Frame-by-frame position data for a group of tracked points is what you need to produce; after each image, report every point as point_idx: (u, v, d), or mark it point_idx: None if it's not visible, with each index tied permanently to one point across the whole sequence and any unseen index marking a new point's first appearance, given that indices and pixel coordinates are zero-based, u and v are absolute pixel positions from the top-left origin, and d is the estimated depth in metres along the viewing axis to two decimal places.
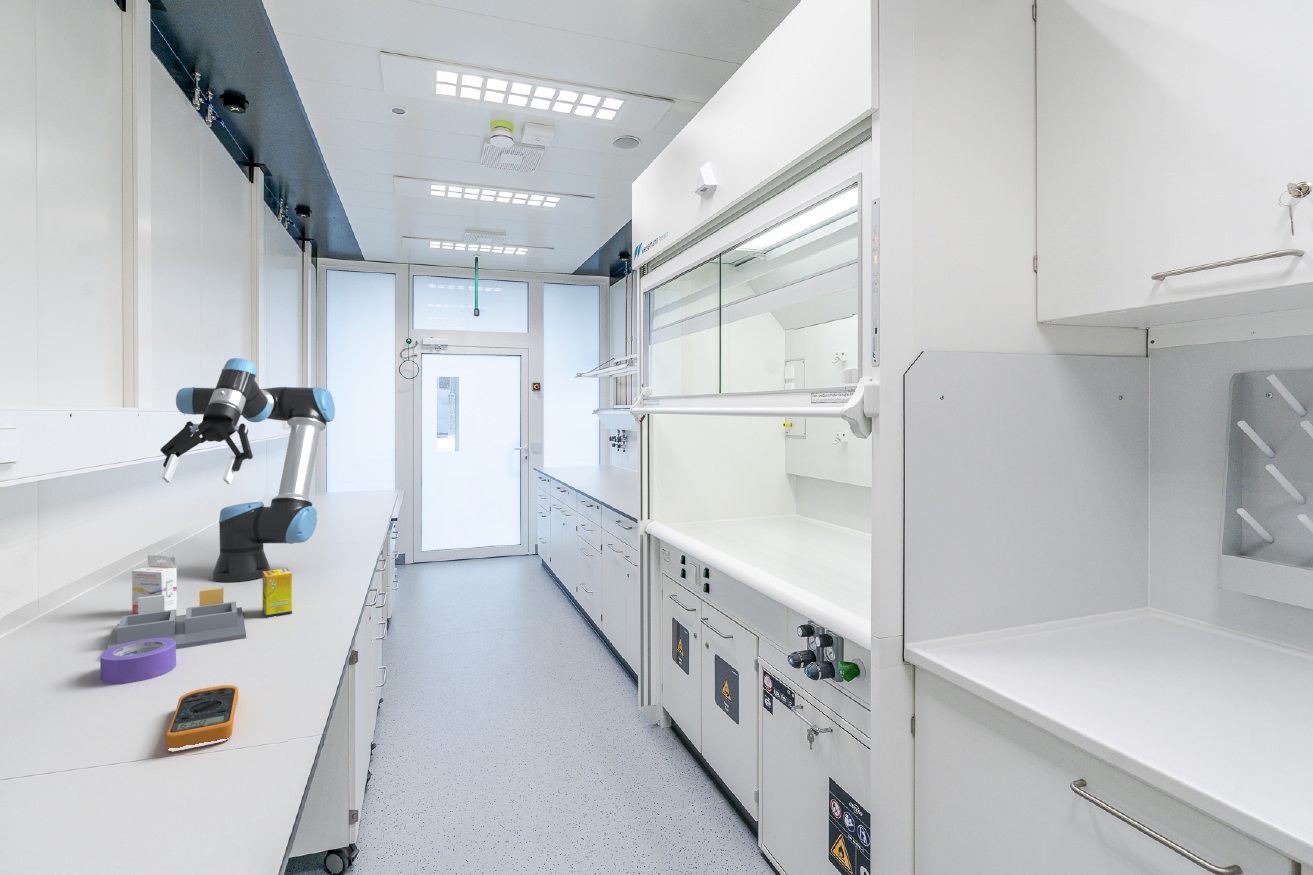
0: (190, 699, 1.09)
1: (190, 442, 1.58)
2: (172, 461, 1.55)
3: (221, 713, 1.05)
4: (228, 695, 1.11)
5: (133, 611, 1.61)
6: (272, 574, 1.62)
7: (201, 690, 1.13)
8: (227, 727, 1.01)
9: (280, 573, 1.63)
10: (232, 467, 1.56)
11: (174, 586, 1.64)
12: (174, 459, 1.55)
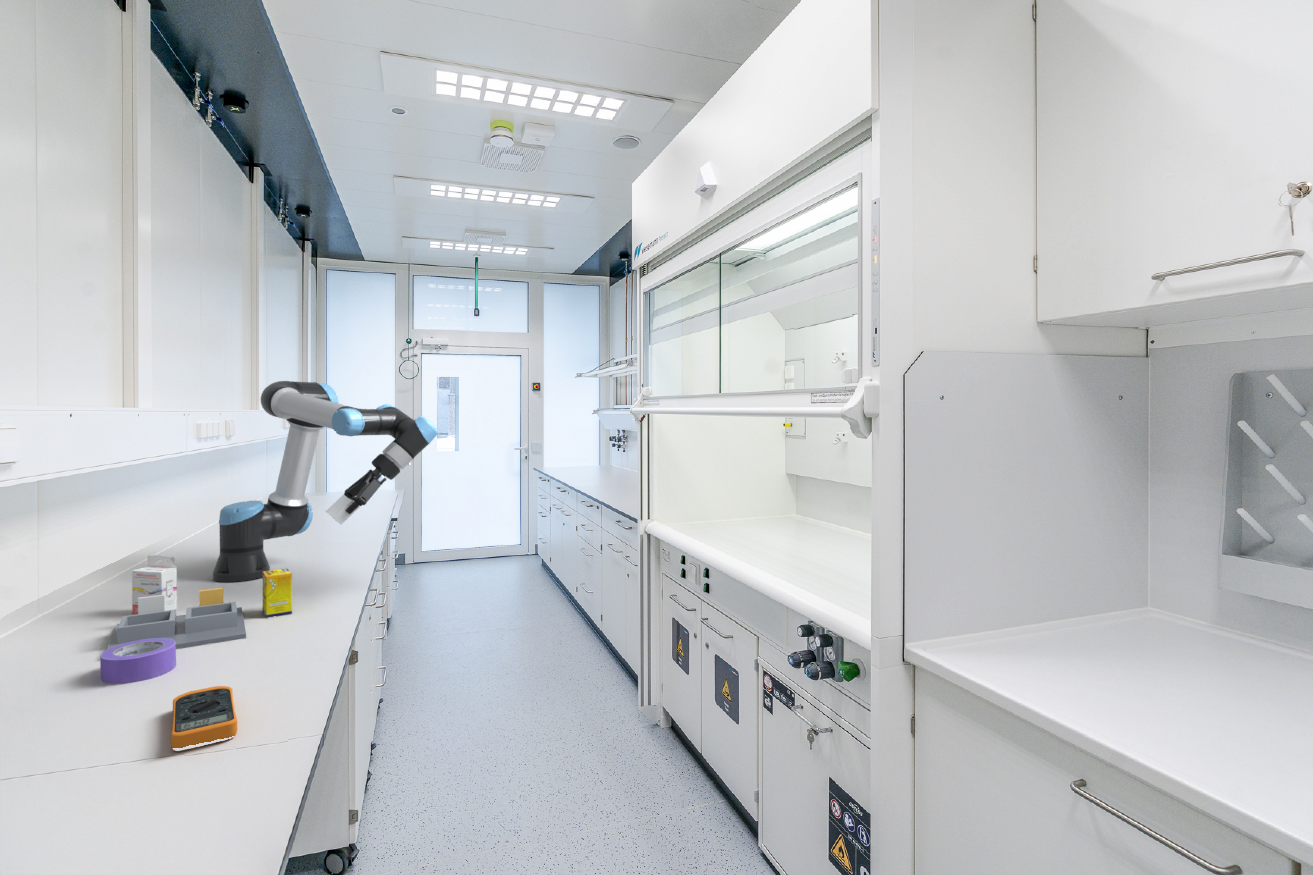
0: (185, 701, 1.09)
1: None
2: None
3: (223, 712, 1.05)
4: (224, 695, 1.11)
5: (133, 611, 1.61)
6: (272, 574, 1.62)
7: (194, 692, 1.12)
8: (233, 725, 1.02)
9: (280, 573, 1.63)
10: None
11: (174, 586, 1.64)
12: None
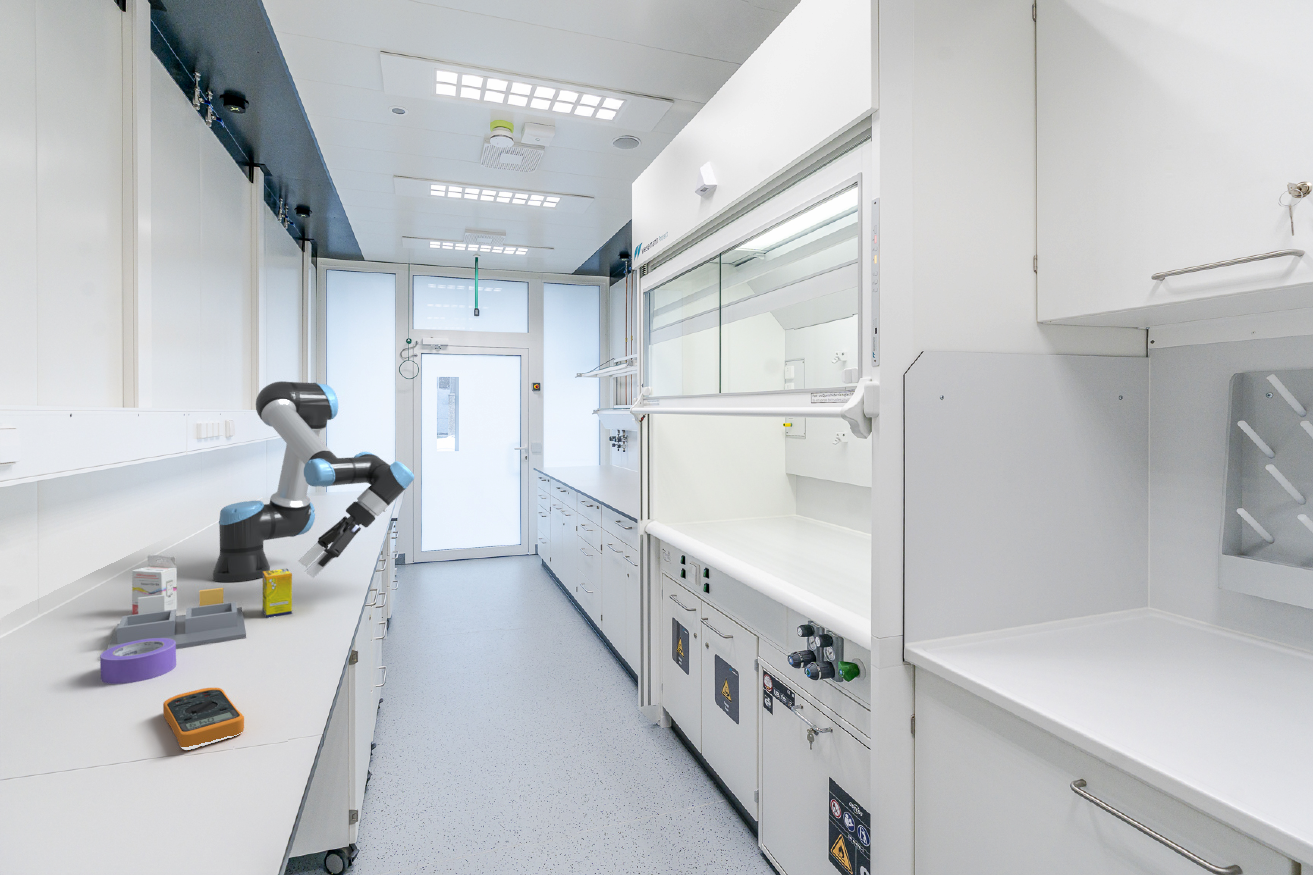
0: (177, 703, 1.08)
1: None
2: None
3: (225, 710, 1.06)
4: (218, 696, 1.11)
5: (133, 611, 1.61)
6: (272, 574, 1.62)
7: (182, 695, 1.11)
8: (241, 721, 1.03)
9: (280, 573, 1.63)
10: None
11: (174, 586, 1.64)
12: None
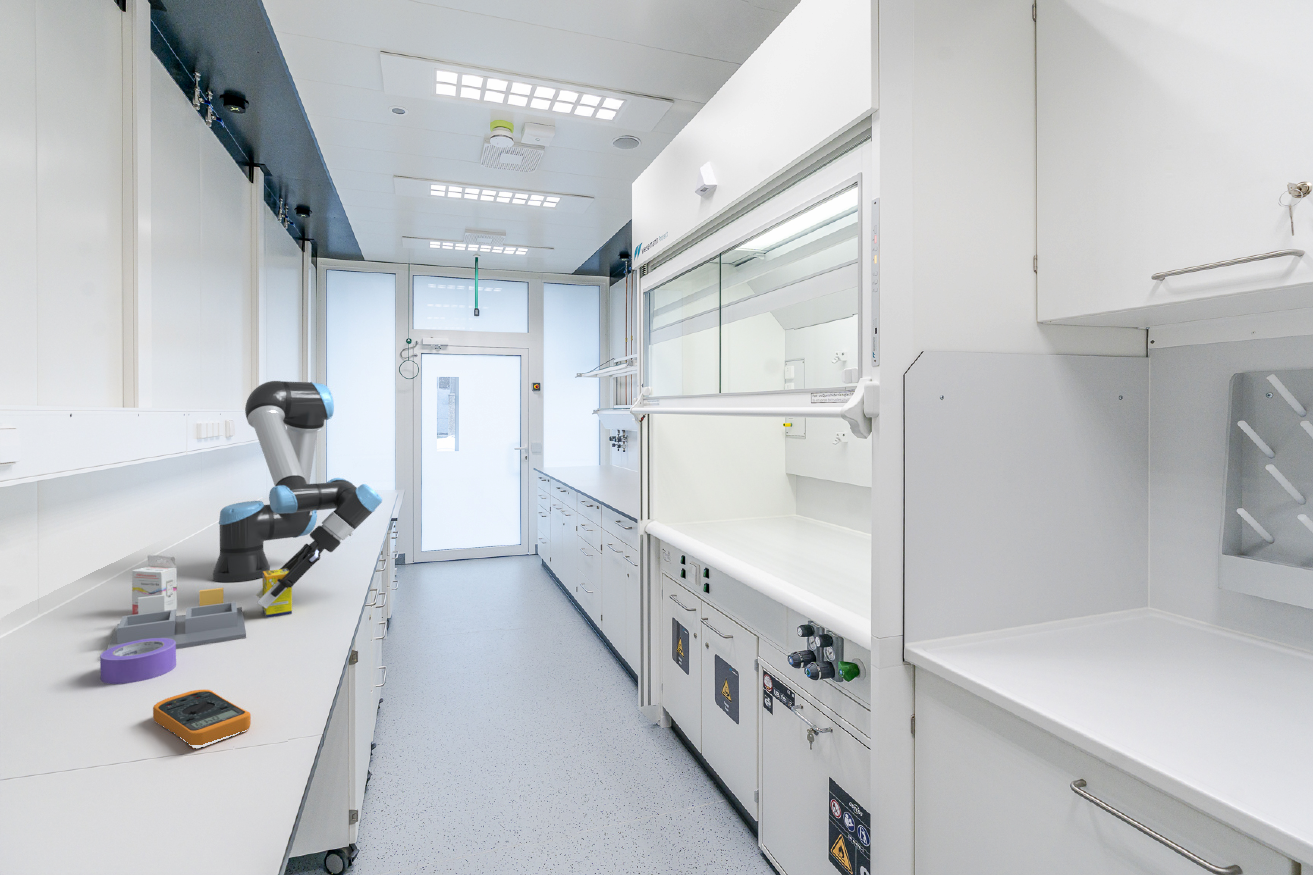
0: (170, 706, 1.07)
1: None
2: None
3: (226, 709, 1.06)
4: (210, 696, 1.11)
5: (133, 611, 1.61)
6: (272, 574, 1.62)
7: (171, 698, 1.09)
8: (248, 717, 1.04)
9: (280, 573, 1.63)
10: None
11: (174, 586, 1.64)
12: None
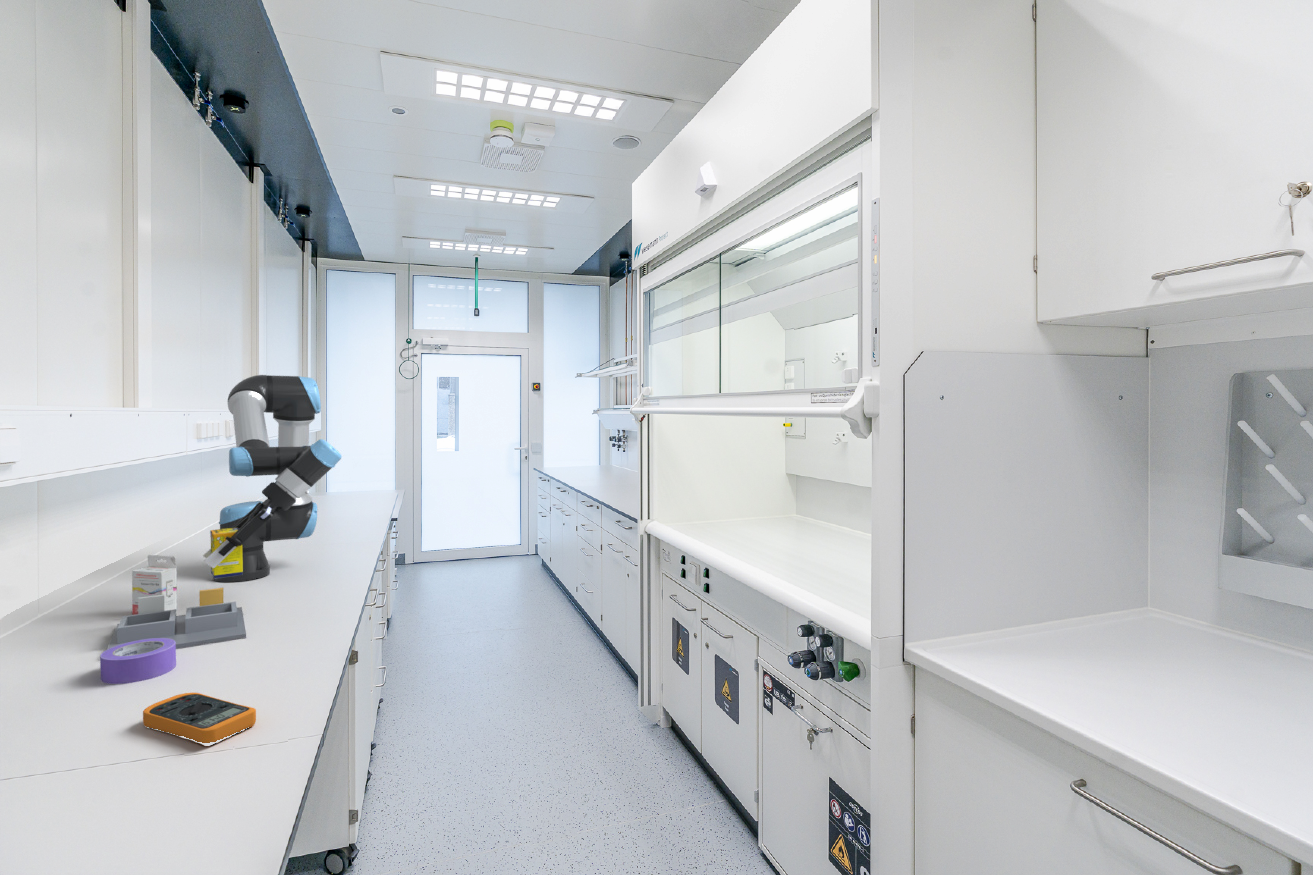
0: (162, 710, 1.05)
1: None
2: None
3: (227, 707, 1.07)
4: (202, 698, 1.10)
5: (133, 611, 1.61)
6: (220, 532, 1.52)
7: (158, 703, 1.08)
8: (255, 712, 1.06)
9: (229, 531, 1.53)
10: None
11: (174, 586, 1.64)
12: None
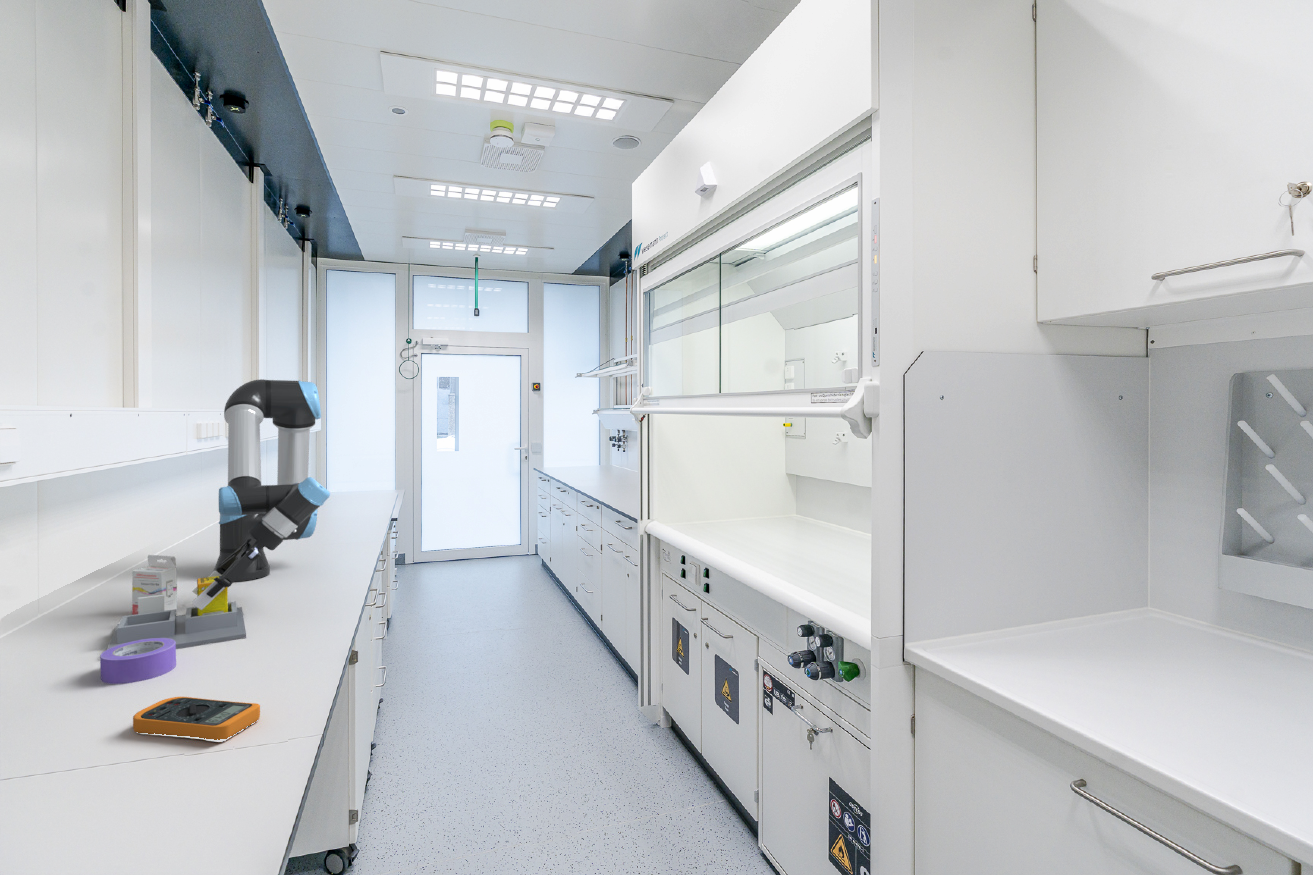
0: (156, 715, 1.04)
1: None
2: None
3: (227, 705, 1.07)
4: (192, 700, 1.09)
5: (133, 611, 1.61)
6: (205, 581, 1.50)
7: (146, 709, 1.05)
8: (259, 707, 1.08)
9: (214, 580, 1.51)
10: None
11: (174, 586, 1.64)
12: None
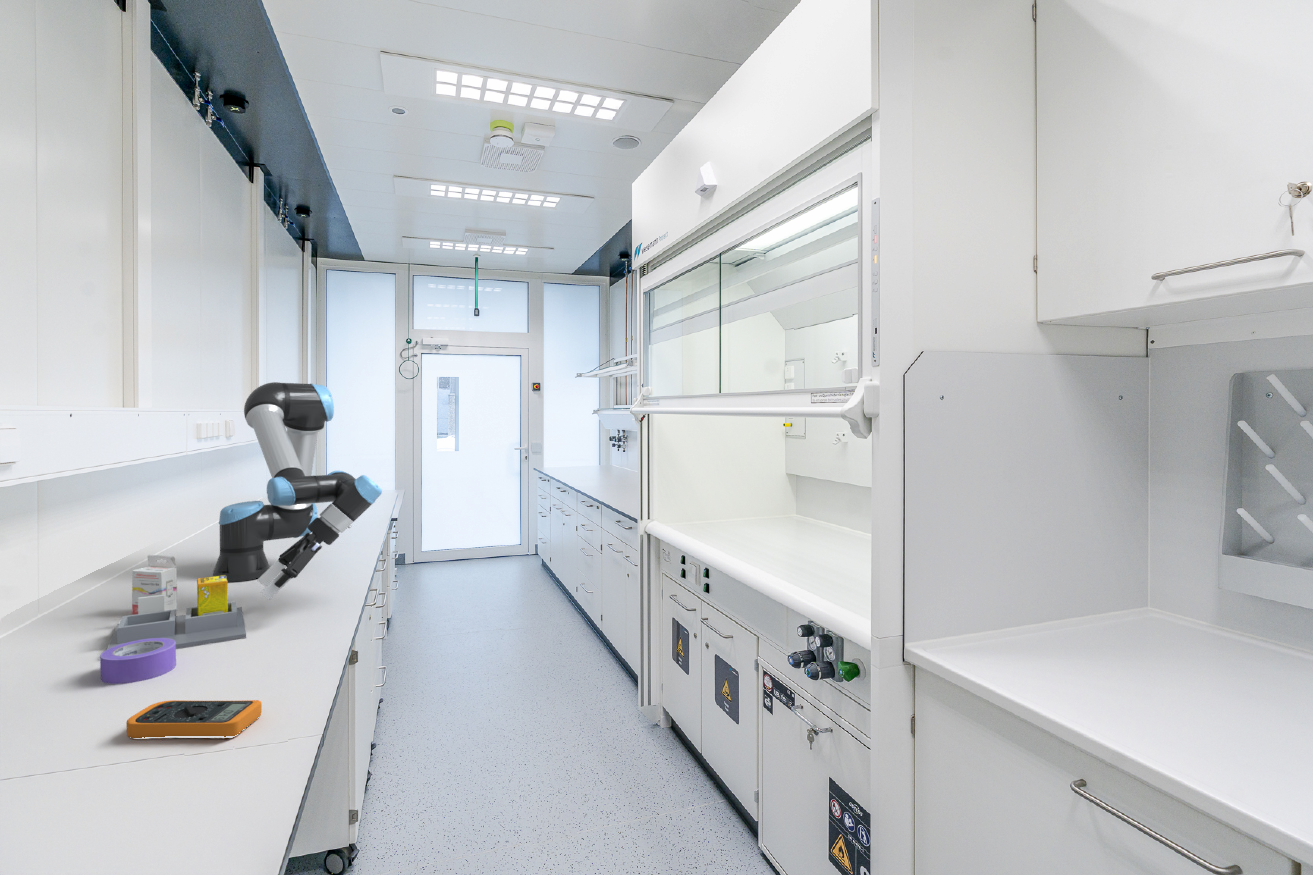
0: (152, 718, 1.02)
1: None
2: None
3: (226, 704, 1.08)
4: (184, 703, 1.08)
5: (133, 611, 1.61)
6: (205, 581, 1.50)
7: (138, 714, 1.03)
8: None
9: (214, 580, 1.51)
10: None
11: (174, 586, 1.64)
12: None
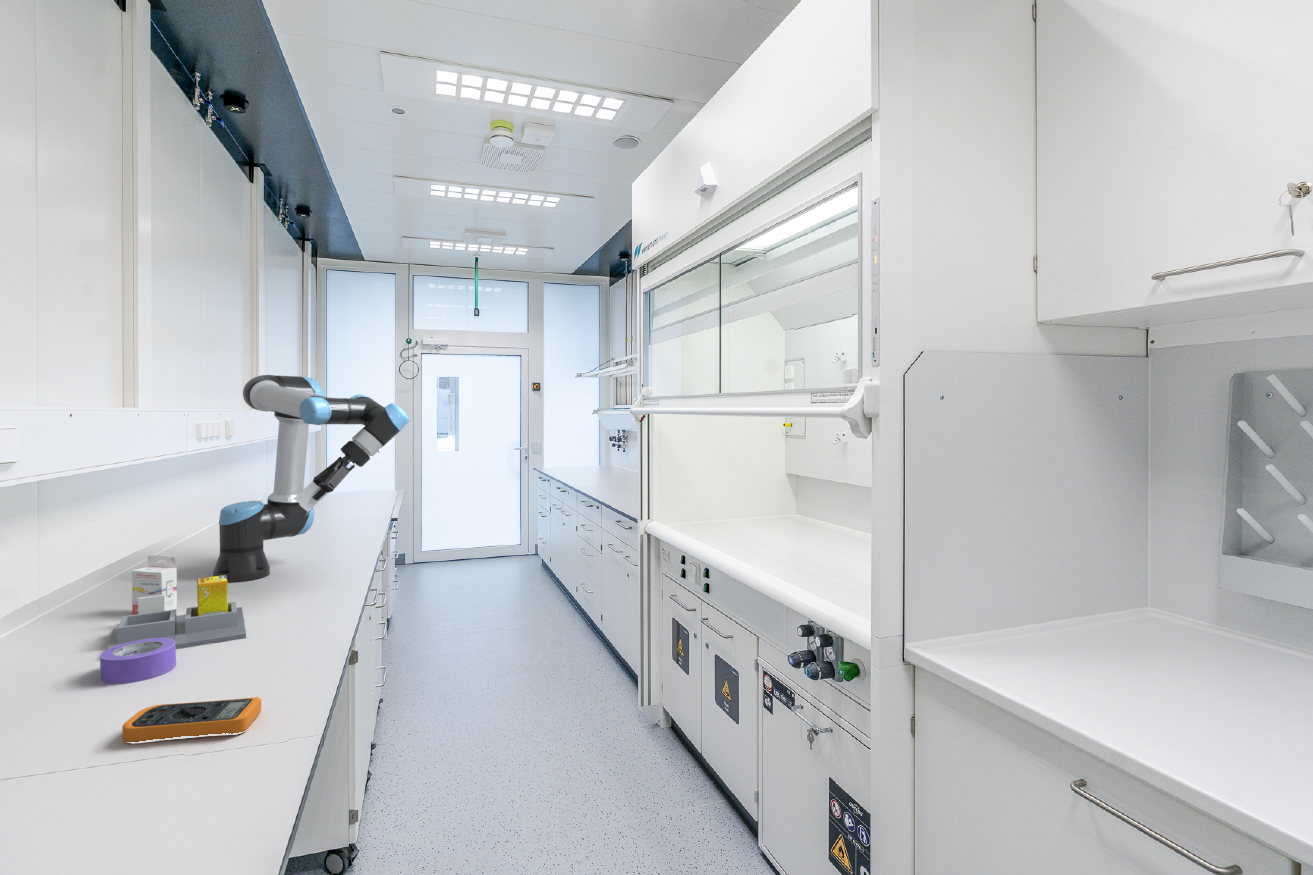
0: (150, 722, 1.01)
1: None
2: None
3: (224, 703, 1.08)
4: (177, 706, 1.07)
5: (133, 611, 1.61)
6: (205, 581, 1.50)
7: (132, 719, 1.02)
8: None
9: (214, 580, 1.51)
10: None
11: (174, 586, 1.64)
12: None
